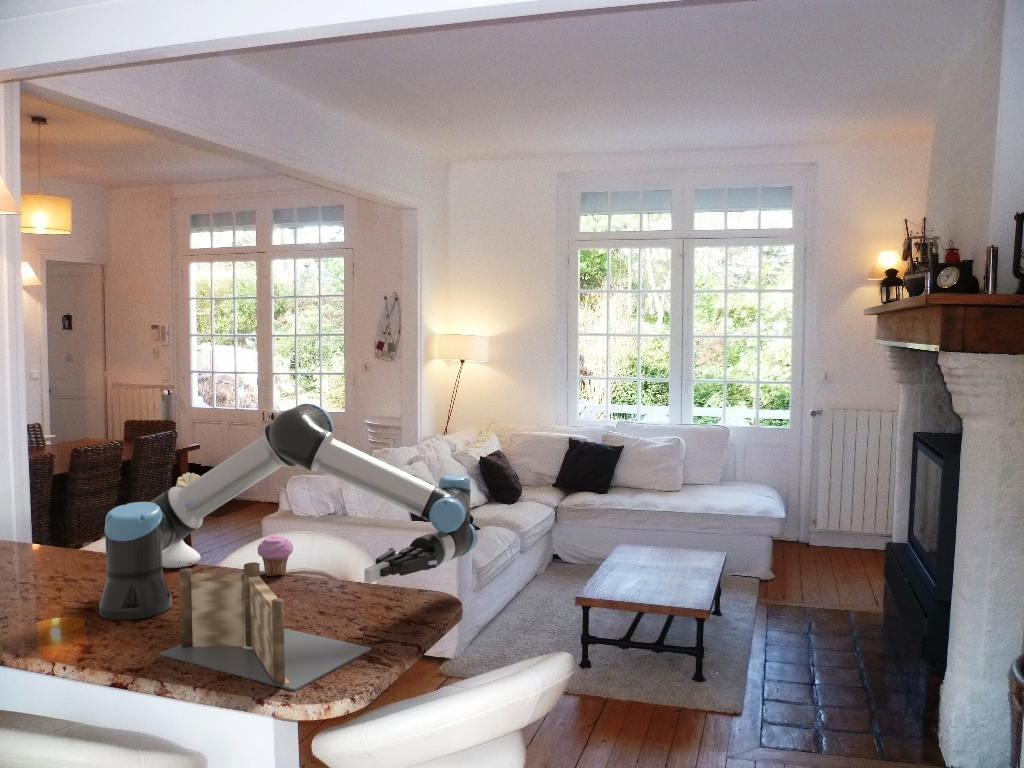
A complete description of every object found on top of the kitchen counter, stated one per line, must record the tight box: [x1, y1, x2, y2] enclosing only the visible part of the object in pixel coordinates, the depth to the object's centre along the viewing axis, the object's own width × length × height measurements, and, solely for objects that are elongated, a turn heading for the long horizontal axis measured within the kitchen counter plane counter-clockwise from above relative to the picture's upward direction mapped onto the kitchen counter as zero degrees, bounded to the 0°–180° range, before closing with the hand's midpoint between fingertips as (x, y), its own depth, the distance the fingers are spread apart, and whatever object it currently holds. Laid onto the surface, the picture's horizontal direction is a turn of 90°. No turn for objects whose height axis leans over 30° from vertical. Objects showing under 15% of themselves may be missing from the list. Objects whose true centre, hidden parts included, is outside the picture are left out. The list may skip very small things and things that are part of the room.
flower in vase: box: [162, 471, 201, 569], centre depth 231 cm, size 13×11×25 cm
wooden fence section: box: [179, 561, 261, 648], centre depth 173 cm, size 16×3×16 cm, turn 92°
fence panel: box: [249, 576, 285, 685], centre depth 163 cm, size 21×2×15 cm, turn 28°
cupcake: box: [257, 535, 294, 577], centre depth 224 cm, size 9×9×10 cm
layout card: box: [158, 627, 373, 692], centre depth 171 cm, size 35×22×1 cm, turn 62°
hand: (367, 576), depth 178 cm, fingers closed
